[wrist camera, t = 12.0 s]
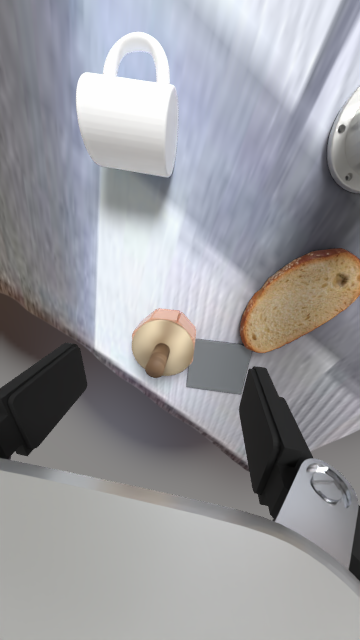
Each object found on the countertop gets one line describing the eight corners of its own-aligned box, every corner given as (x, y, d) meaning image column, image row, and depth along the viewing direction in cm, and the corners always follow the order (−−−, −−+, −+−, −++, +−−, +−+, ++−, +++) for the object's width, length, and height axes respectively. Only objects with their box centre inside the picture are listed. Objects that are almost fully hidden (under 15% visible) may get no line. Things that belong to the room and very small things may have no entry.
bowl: (198, 312, 35) (197, 322, 30) (192, 361, 39) (190, 377, 34) (140, 306, 36) (131, 315, 31) (141, 355, 40) (133, 369, 35)
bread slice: (238, 350, 36) (242, 361, 33) (243, 254, 30) (248, 254, 27) (338, 350, 34) (353, 361, 30) (364, 246, 28) (388, 245, 24)
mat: (252, 345, 36) (253, 347, 36) (240, 392, 41) (240, 394, 40) (191, 338, 37) (191, 339, 36) (186, 384, 42) (186, 386, 41)
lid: (197, 323, 30) (195, 341, 24) (190, 376, 34) (188, 403, 29) (132, 315, 31) (116, 332, 25) (133, 368, 35) (120, 393, 29)
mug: (172, 185, 28) (161, 163, 21) (109, 174, 28) (76, 149, 21) (186, 73, 23) (179, -7, 16) (111, 62, 24) (70, -21, 16)
